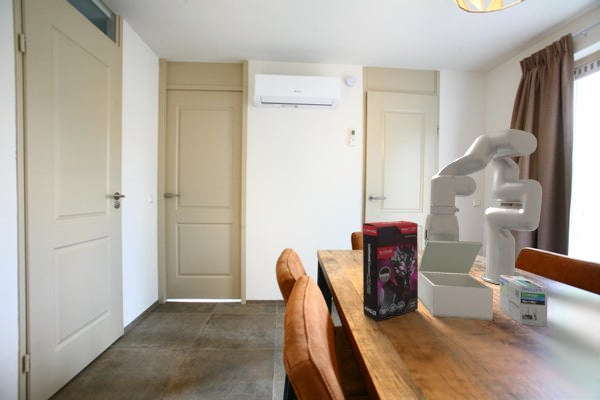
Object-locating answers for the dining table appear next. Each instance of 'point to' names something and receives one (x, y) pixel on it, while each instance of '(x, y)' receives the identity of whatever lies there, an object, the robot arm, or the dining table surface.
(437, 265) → the lid
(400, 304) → the graphics card box
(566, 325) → the dining table surface
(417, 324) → the dining table surface
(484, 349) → the dining table surface
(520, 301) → the light bulb box
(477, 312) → the carton
